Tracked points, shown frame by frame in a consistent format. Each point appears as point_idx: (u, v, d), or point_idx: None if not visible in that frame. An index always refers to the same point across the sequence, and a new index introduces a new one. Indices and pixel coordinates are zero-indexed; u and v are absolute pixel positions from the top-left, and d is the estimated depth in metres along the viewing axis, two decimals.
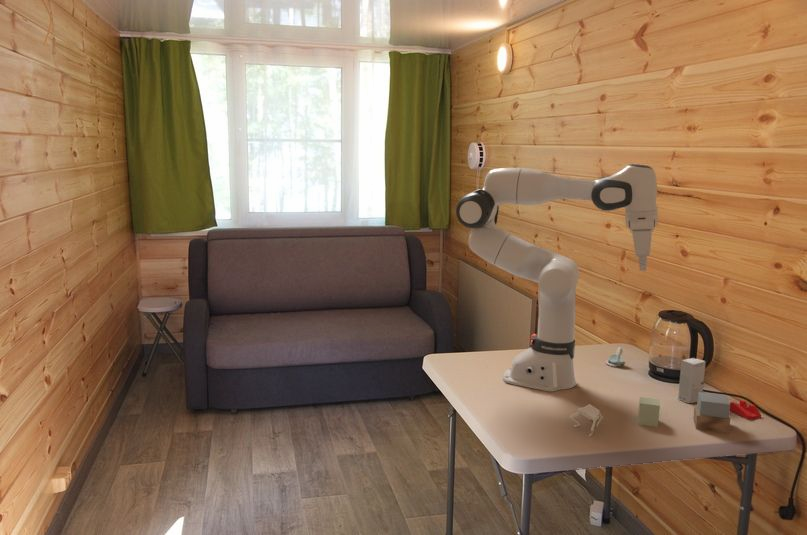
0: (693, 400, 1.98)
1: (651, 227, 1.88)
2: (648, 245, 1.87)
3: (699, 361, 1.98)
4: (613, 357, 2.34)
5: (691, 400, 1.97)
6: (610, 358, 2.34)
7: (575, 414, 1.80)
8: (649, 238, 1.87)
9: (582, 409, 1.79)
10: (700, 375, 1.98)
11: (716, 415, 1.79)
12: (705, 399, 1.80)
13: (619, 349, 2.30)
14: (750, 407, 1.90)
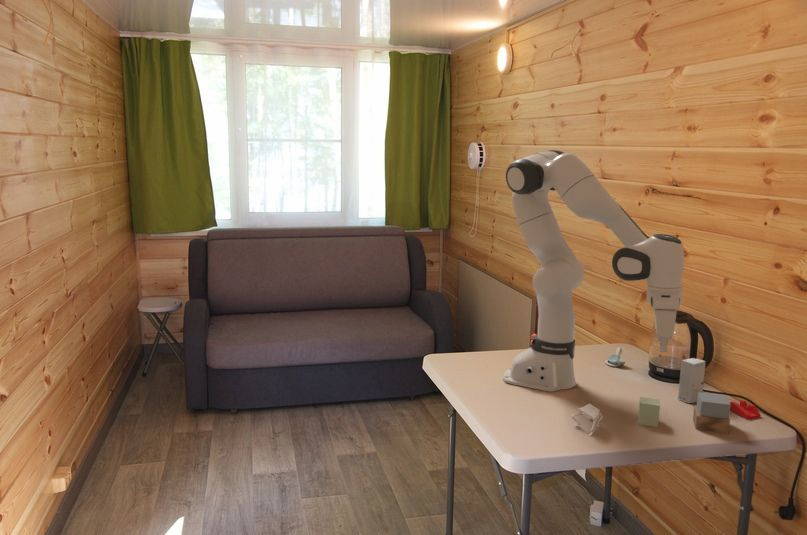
0: (693, 400, 1.98)
1: (676, 308, 1.71)
2: (672, 327, 1.71)
3: (699, 361, 1.98)
4: (613, 357, 2.34)
5: (691, 400, 1.97)
6: (610, 358, 2.34)
7: (575, 414, 1.80)
8: (673, 320, 1.71)
9: (582, 409, 1.80)
10: (700, 375, 1.98)
11: (716, 415, 1.78)
12: (705, 400, 1.80)
13: (619, 349, 2.30)
14: (750, 407, 1.90)
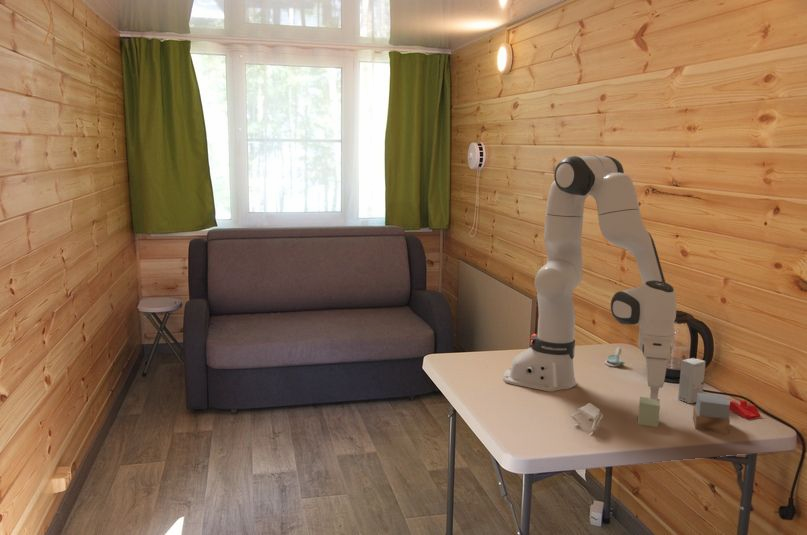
0: (693, 400, 1.98)
1: (667, 357, 1.71)
2: (662, 376, 1.71)
3: (699, 361, 1.98)
4: (612, 357, 2.34)
5: (691, 400, 1.97)
6: (609, 358, 2.34)
7: (575, 413, 1.80)
8: (664, 369, 1.71)
9: (582, 408, 1.80)
10: (700, 375, 1.98)
11: (715, 416, 1.78)
12: (704, 400, 1.80)
13: (618, 349, 2.30)
14: (750, 407, 1.90)
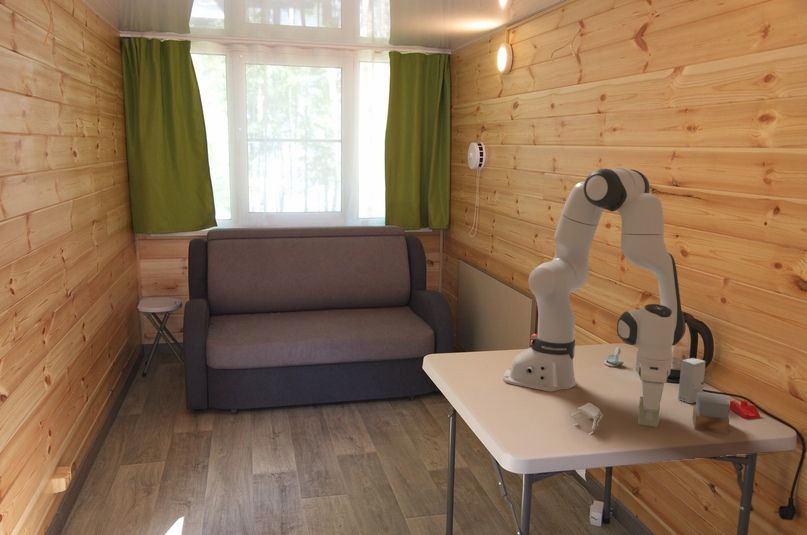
0: (693, 400, 1.98)
1: (663, 381, 1.73)
2: (658, 400, 1.72)
3: (699, 361, 1.98)
4: (611, 357, 2.34)
5: (691, 400, 1.97)
6: (608, 358, 2.34)
7: (575, 413, 1.80)
8: (660, 393, 1.72)
9: (582, 408, 1.80)
10: (700, 375, 1.98)
11: (715, 415, 1.79)
12: (704, 400, 1.80)
13: (617, 349, 2.30)
14: (750, 407, 1.90)
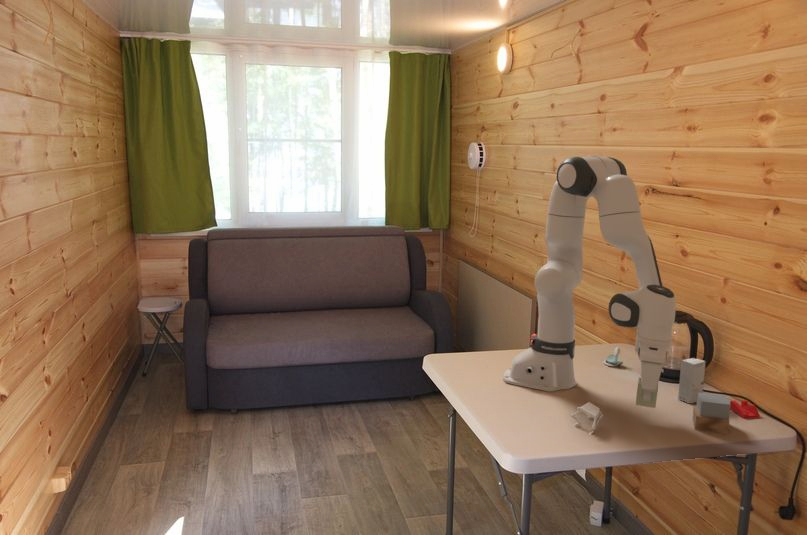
0: (693, 400, 1.98)
1: (662, 362, 1.72)
2: (656, 381, 1.72)
3: (699, 361, 1.98)
4: (611, 357, 2.34)
5: (691, 400, 1.97)
6: (608, 358, 2.34)
7: (575, 412, 1.81)
8: (658, 373, 1.72)
9: (582, 407, 1.80)
10: (700, 375, 1.98)
11: (716, 415, 1.78)
12: (705, 400, 1.80)
13: (617, 349, 2.30)
14: (749, 407, 1.91)
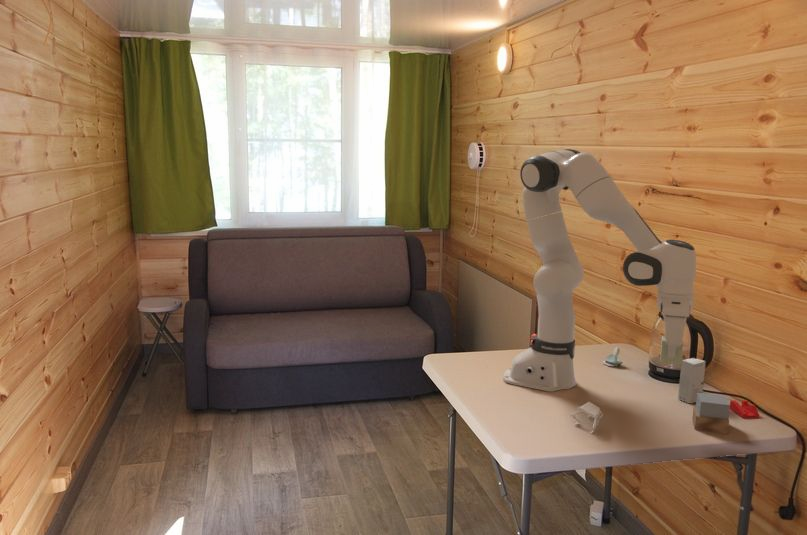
0: (693, 400, 1.98)
1: (686, 315, 1.69)
2: (681, 334, 1.69)
3: (699, 361, 1.98)
4: (610, 357, 2.34)
5: (691, 400, 1.97)
6: (607, 358, 2.34)
7: (575, 412, 1.81)
8: (683, 327, 1.68)
9: (582, 407, 1.81)
10: (700, 375, 1.98)
11: (716, 416, 1.78)
12: (704, 400, 1.80)
13: (616, 349, 2.30)
14: (749, 407, 1.91)
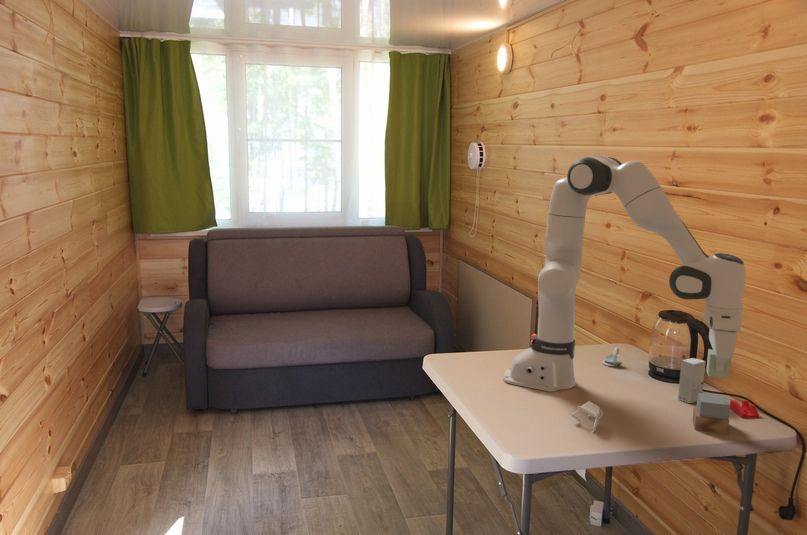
0: (693, 400, 1.98)
1: (737, 329, 1.69)
2: (732, 349, 1.69)
3: (699, 361, 1.98)
4: (610, 357, 2.34)
5: (691, 400, 1.97)
6: (607, 358, 2.34)
7: (576, 411, 1.81)
8: (734, 341, 1.68)
9: (583, 406, 1.81)
10: (700, 375, 1.98)
11: (716, 416, 1.78)
12: (704, 400, 1.79)
13: (616, 349, 2.30)
14: (749, 407, 1.91)
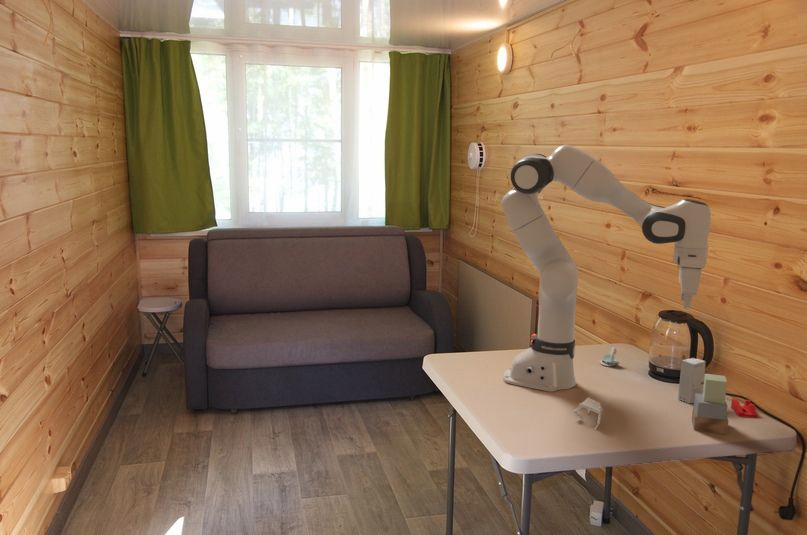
0: (693, 400, 1.98)
1: (701, 266, 1.84)
2: (696, 284, 1.84)
3: (699, 361, 1.98)
4: (607, 357, 2.34)
5: (691, 400, 1.97)
6: (604, 358, 2.34)
7: (577, 408, 1.83)
8: (698, 277, 1.83)
9: (584, 403, 1.83)
10: (700, 375, 1.98)
11: (713, 417, 1.78)
12: (702, 401, 1.79)
13: (613, 349, 2.30)
14: (749, 406, 1.91)
